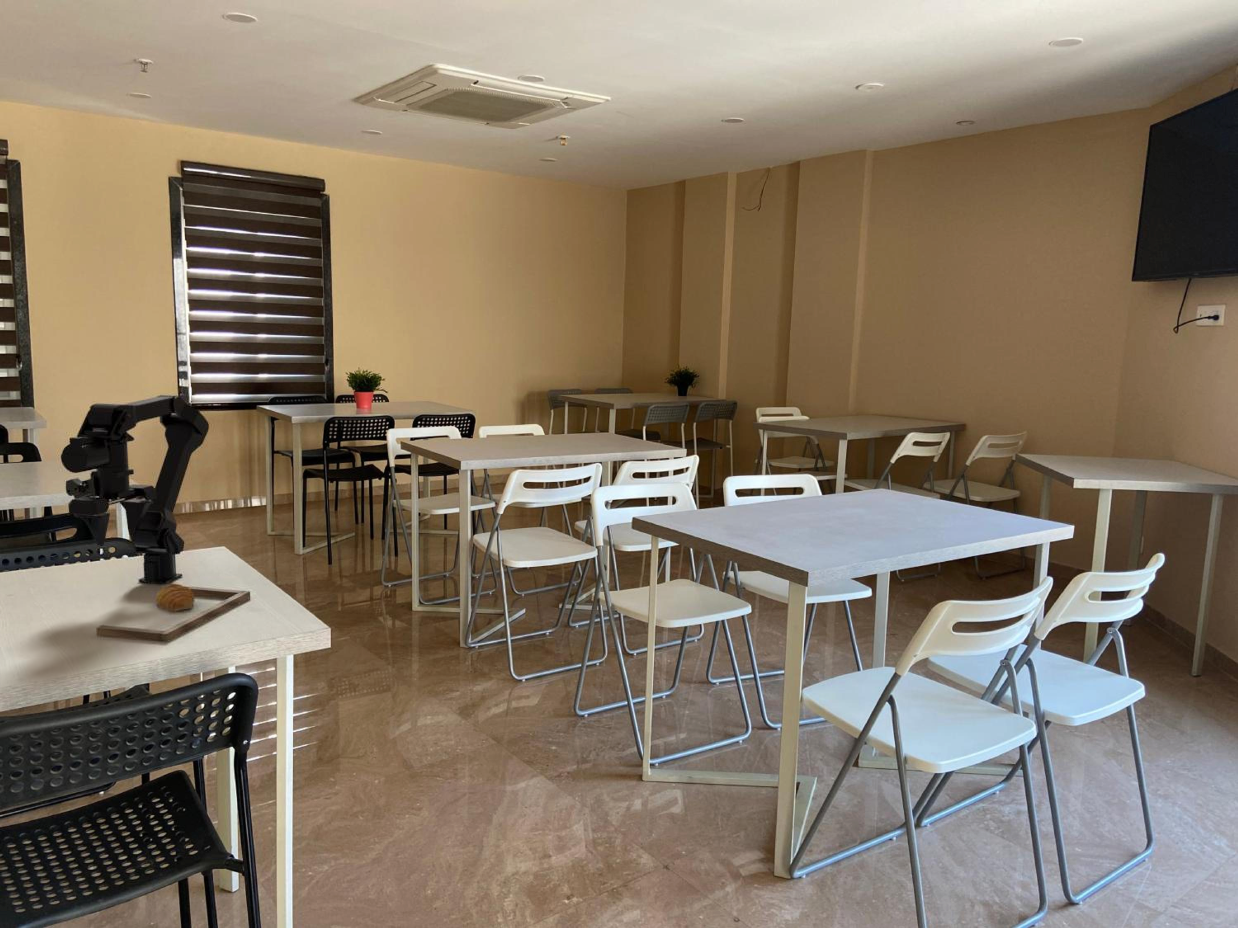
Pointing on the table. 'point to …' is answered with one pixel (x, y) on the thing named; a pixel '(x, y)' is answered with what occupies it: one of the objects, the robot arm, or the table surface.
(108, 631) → the walnut frame
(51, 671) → the table surface
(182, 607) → the pastry
